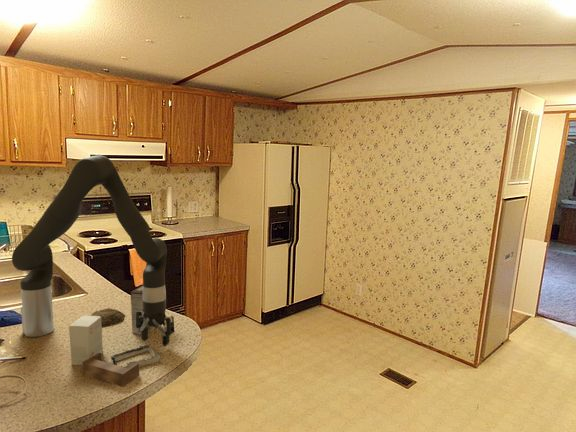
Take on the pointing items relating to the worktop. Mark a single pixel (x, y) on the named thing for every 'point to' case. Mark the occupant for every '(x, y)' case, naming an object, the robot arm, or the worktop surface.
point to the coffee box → (137, 309)
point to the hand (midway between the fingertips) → (155, 342)
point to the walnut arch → (109, 371)
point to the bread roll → (109, 316)
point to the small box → (85, 338)
